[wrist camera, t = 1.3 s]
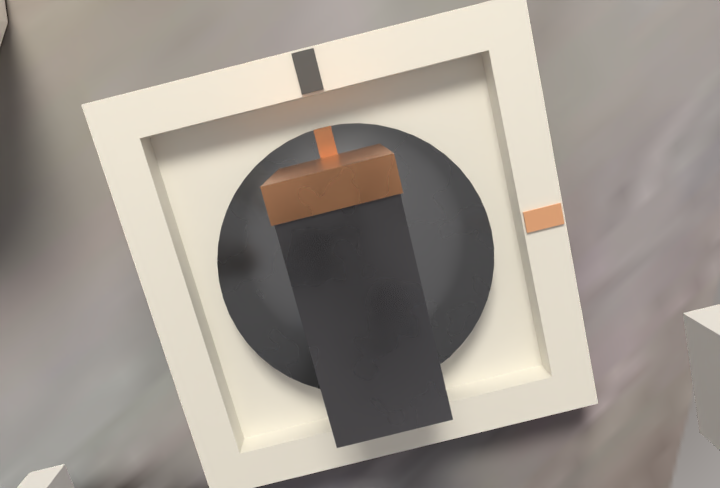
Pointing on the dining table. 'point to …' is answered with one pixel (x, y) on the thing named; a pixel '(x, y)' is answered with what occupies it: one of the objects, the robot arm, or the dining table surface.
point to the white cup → (2, 19)
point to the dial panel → (325, 108)
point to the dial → (358, 272)
